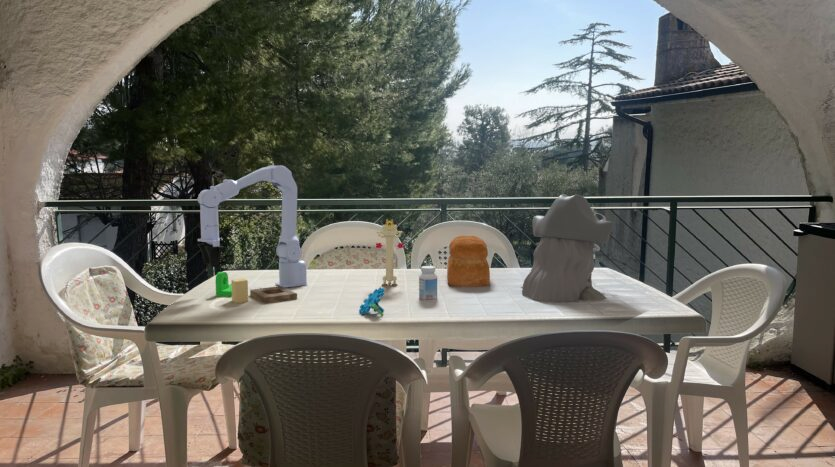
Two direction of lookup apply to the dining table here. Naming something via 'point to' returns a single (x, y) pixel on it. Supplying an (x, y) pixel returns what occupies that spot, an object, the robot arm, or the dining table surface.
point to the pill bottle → (428, 284)
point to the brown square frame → (273, 294)
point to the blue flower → (373, 302)
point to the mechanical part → (223, 285)
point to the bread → (468, 262)
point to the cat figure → (389, 249)
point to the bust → (566, 252)
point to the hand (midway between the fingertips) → (211, 265)
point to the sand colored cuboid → (239, 290)
